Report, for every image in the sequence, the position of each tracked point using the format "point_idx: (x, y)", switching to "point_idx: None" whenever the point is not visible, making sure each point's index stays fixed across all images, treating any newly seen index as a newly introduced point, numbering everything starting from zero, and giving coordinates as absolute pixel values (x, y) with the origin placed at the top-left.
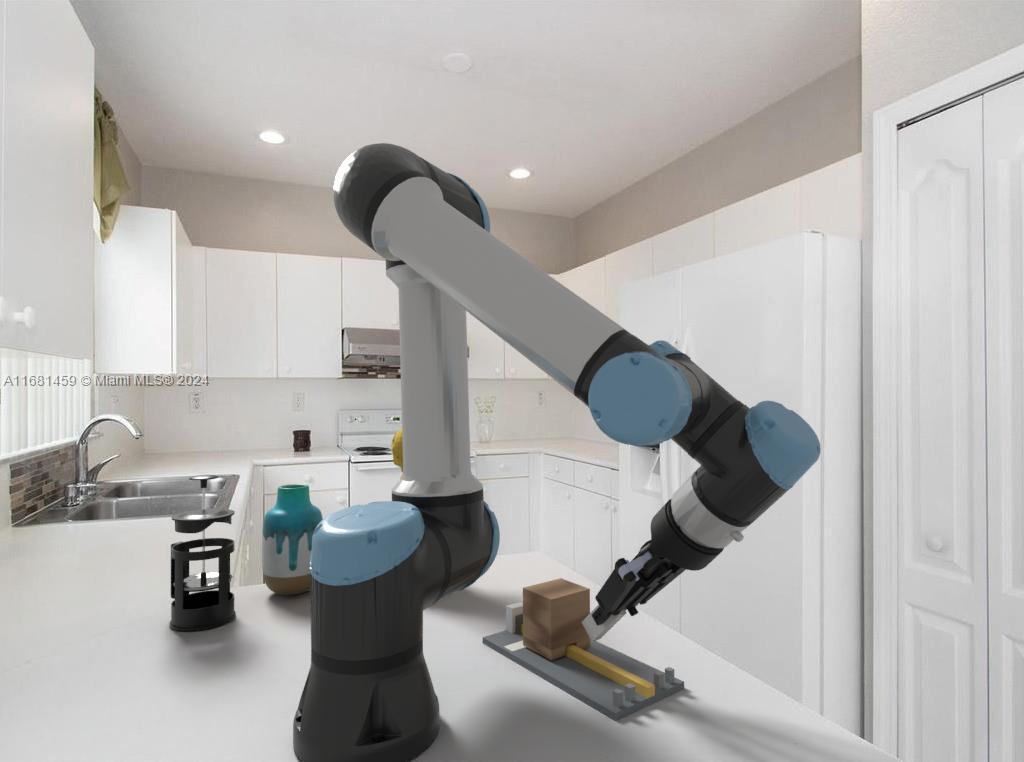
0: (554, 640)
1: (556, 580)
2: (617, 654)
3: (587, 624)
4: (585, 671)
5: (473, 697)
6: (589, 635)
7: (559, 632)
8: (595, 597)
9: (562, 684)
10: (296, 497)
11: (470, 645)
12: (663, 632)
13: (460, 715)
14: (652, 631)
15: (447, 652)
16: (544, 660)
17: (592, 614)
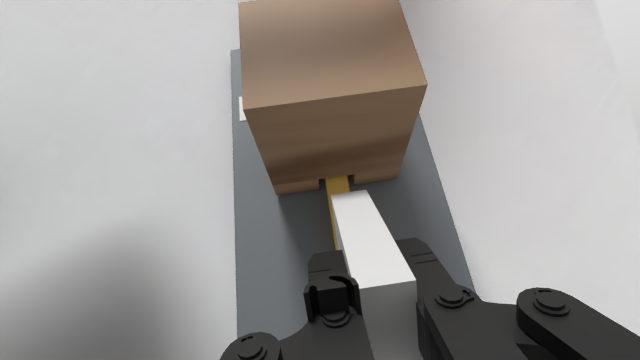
0: (279, 174)
1: None
2: (441, 233)
3: (334, 219)
4: None
5: (78, 230)
6: (336, 237)
7: (295, 163)
8: (225, 352)
9: (236, 293)
10: None
11: (209, 58)
12: (632, 169)
13: (11, 280)
14: (605, 153)
15: (159, 65)
16: (270, 182)
17: (308, 263)
